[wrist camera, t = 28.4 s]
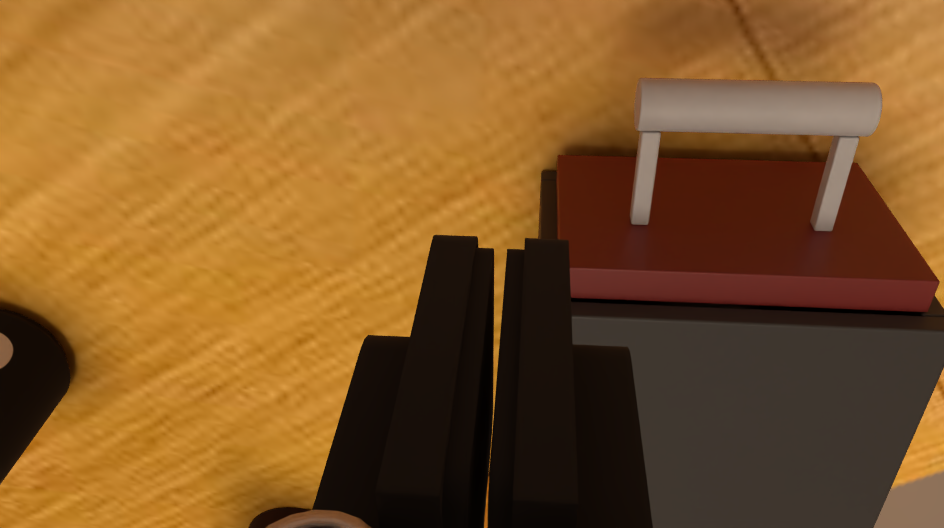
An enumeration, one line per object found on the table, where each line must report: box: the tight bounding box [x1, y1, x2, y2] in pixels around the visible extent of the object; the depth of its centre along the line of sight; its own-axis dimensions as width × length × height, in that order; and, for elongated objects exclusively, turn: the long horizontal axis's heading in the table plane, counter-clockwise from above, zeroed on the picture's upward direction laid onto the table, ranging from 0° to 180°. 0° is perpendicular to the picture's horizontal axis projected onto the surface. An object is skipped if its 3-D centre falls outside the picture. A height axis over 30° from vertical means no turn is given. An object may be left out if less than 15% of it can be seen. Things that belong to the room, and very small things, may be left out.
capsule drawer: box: [556, 78, 939, 314], centre depth 30 cm, size 18×11×8 cm, turn 1°
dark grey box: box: [538, 171, 944, 528], centre depth 32 cm, size 15×13×10 cm
